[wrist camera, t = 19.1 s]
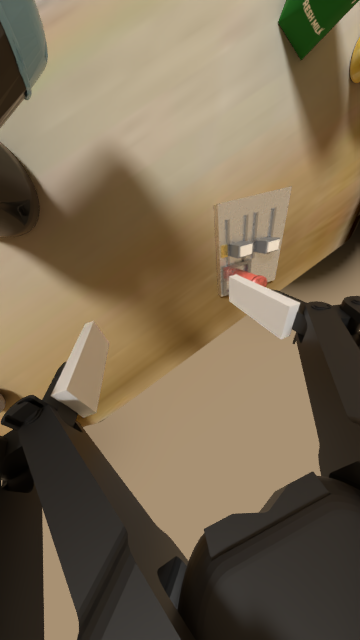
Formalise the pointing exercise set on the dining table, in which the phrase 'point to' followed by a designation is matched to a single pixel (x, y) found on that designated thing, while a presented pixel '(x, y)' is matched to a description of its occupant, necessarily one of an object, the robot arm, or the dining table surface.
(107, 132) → the dining table surface
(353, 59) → the plant pot
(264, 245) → the block
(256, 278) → the cap
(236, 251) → the block
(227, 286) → the panel
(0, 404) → the coffee pot
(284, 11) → the milk carton
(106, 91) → the dining table surface
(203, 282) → the dining table surface
